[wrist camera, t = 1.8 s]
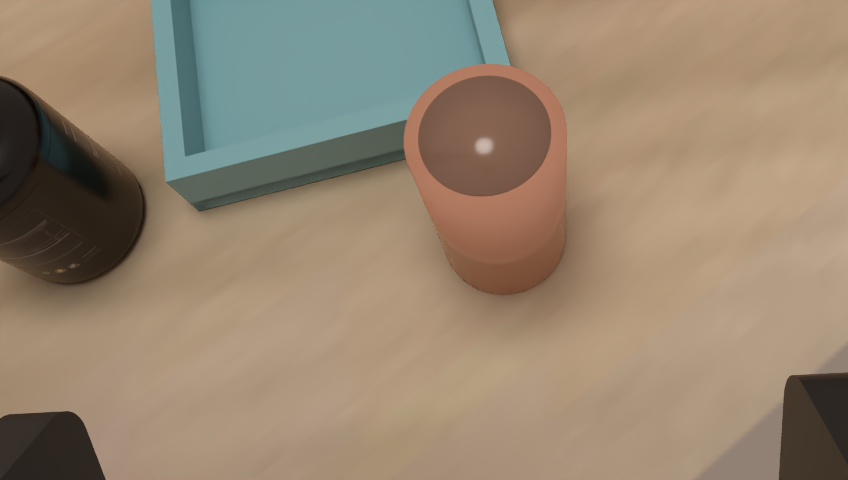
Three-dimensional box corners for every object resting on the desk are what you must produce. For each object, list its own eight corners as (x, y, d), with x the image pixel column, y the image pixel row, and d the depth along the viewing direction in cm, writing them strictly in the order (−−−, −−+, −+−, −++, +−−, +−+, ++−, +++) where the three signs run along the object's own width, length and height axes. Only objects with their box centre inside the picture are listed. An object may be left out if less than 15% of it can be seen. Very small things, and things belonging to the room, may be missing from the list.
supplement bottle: (17, 180, 41) (-187, 50, 30) (141, 144, 40) (-19, -3, 29) (22, 304, 38) (-199, 213, 27) (154, 267, 38) (-15, 158, 27)
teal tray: (199, 211, 38) (165, 181, 35) (176, -18, 44) (145, -62, 40) (521, 129, 37) (517, 91, 34) (459, -97, 42) (450, -149, 39)
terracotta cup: (457, 307, 35) (419, 227, 25) (433, 197, 37) (390, 85, 27) (579, 278, 34) (585, 186, 25) (548, 168, 36) (543, 45, 27)
